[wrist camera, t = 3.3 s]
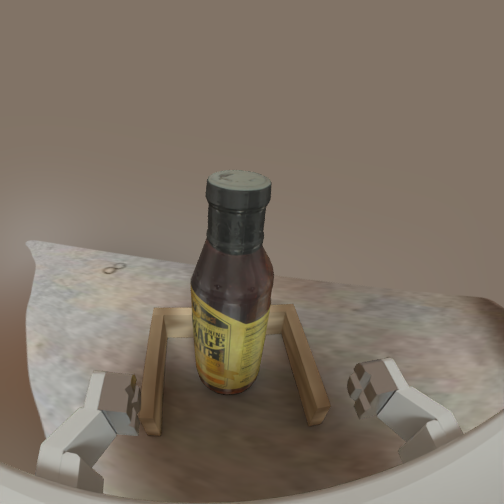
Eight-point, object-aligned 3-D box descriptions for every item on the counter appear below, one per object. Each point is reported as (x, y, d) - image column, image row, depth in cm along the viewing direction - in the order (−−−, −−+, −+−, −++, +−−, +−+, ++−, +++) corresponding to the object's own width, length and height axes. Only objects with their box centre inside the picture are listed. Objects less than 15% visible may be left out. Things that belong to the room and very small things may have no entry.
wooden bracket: (147, 435, 21) (138, 417, 19) (158, 330, 33) (153, 307, 31) (320, 424, 23) (331, 405, 21) (288, 325, 35) (293, 303, 33)
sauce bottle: (188, 361, 29) (173, 168, 19) (241, 344, 32) (252, 161, 22) (213, 410, 24) (206, 197, 14) (271, 387, 27) (306, 186, 17)
